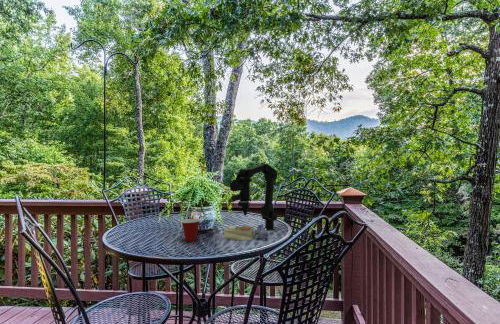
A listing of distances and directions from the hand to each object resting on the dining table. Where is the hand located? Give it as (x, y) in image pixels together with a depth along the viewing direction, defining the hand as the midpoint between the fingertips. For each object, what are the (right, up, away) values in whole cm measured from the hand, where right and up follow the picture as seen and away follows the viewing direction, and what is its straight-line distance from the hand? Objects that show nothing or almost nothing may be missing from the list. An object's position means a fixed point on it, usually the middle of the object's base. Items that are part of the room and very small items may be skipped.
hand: (245, 215), depth 188 cm
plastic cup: (-32, -13, -8) cm, 35 cm away
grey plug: (-7, -12, -1) cm, 14 cm away
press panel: (-4, -13, -2) cm, 13 cm away
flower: (+10, -13, -5) cm, 17 cm away
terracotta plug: (0, -11, -2) cm, 11 cm away
